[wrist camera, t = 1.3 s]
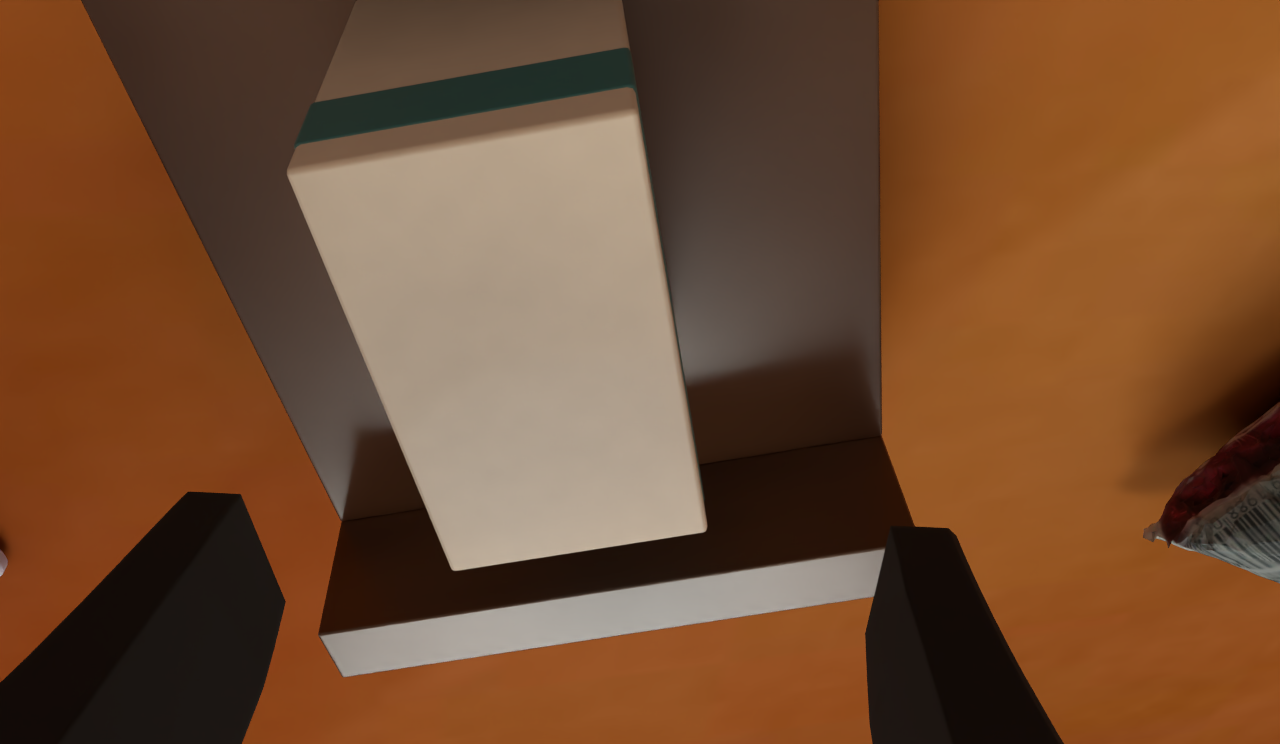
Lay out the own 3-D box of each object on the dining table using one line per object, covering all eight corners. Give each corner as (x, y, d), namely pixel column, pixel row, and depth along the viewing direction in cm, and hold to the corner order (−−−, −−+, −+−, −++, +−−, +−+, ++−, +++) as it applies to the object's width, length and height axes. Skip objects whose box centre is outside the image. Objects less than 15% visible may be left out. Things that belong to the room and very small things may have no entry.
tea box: (471, 354, 20) (450, 575, 16) (353, -4, 16) (280, 170, 12) (676, 320, 20) (710, 534, 16) (614, -51, 16) (640, 106, 11)
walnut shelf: (378, 474, 26) (342, 678, 22) (-14, -407, 15) (-272, -377, 10) (852, 398, 26) (919, 590, 21) (822, -577, 14) (954, -628, 10)
